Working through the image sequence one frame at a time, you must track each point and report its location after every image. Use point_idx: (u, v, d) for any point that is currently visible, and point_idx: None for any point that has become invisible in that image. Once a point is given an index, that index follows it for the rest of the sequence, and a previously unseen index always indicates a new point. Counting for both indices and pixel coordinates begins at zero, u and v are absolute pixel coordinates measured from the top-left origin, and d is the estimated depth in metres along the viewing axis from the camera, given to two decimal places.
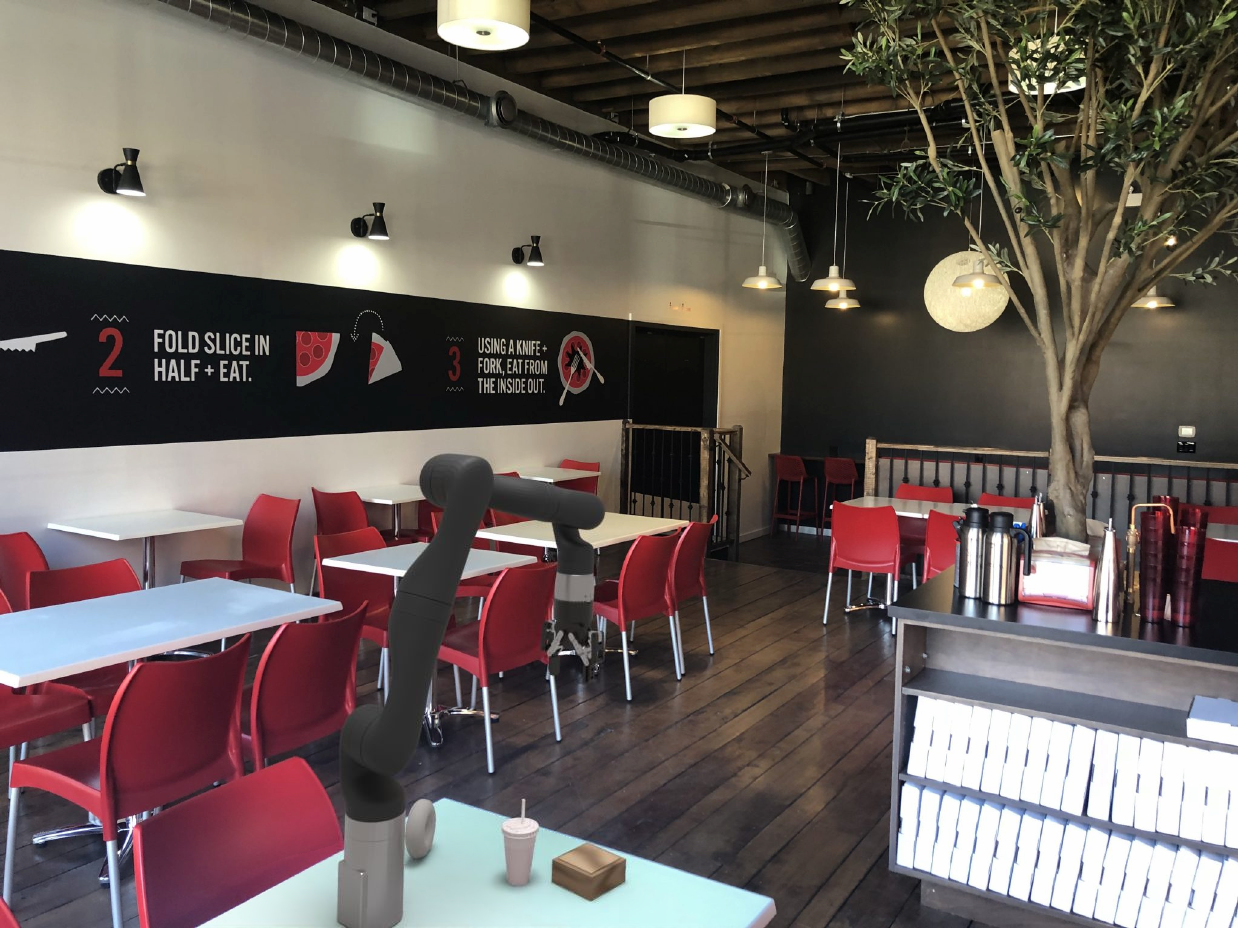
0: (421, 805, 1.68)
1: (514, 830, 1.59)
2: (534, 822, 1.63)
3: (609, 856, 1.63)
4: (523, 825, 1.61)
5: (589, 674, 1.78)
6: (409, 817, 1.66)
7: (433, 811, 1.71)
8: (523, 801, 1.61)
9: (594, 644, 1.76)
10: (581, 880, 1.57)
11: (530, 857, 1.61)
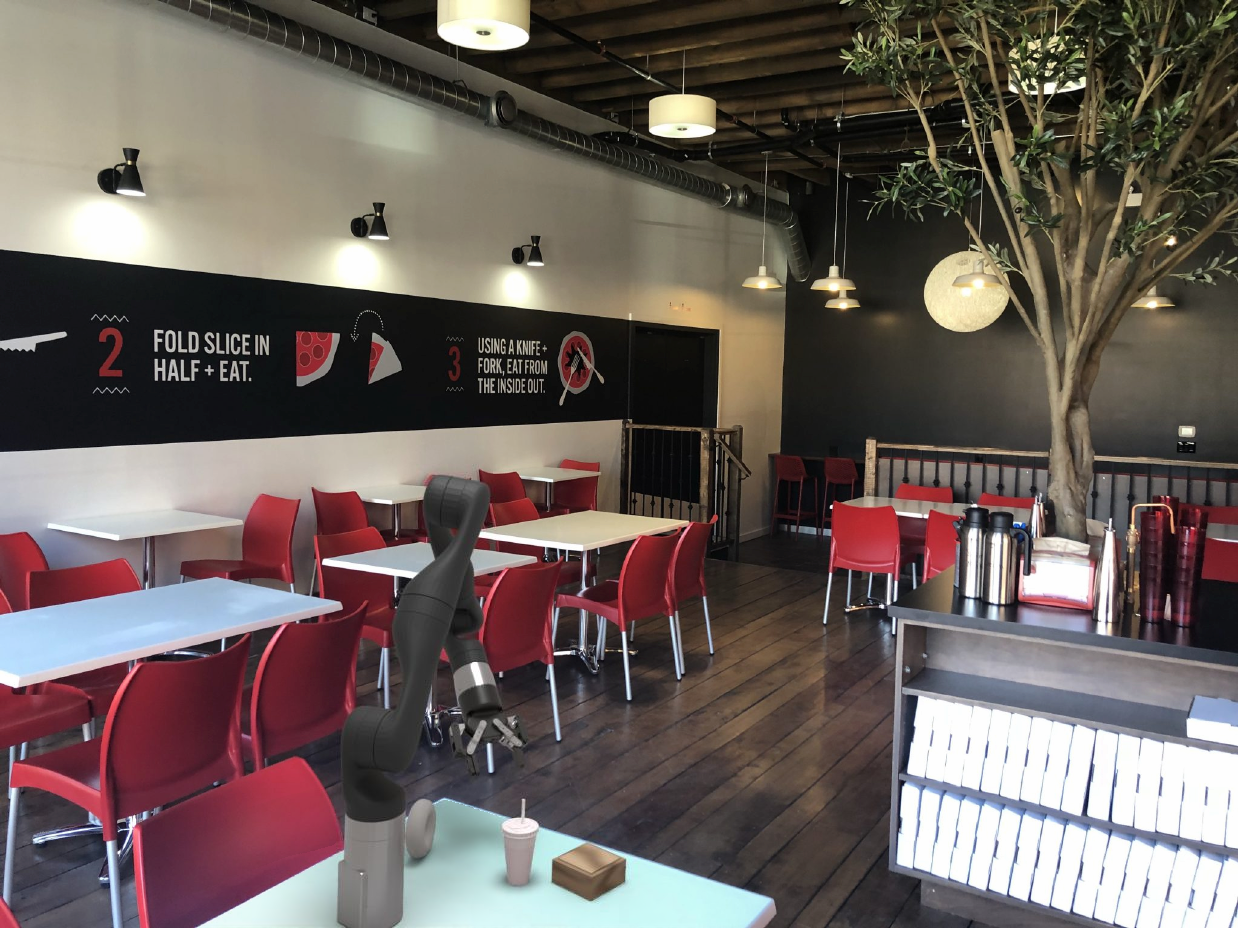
0: (421, 805, 1.68)
1: (514, 830, 1.59)
2: (534, 822, 1.63)
3: (609, 856, 1.63)
4: (523, 825, 1.61)
5: (523, 756, 1.73)
6: (409, 817, 1.66)
7: (433, 811, 1.71)
8: (523, 801, 1.61)
9: (522, 723, 1.76)
10: (581, 880, 1.57)
11: (530, 857, 1.61)
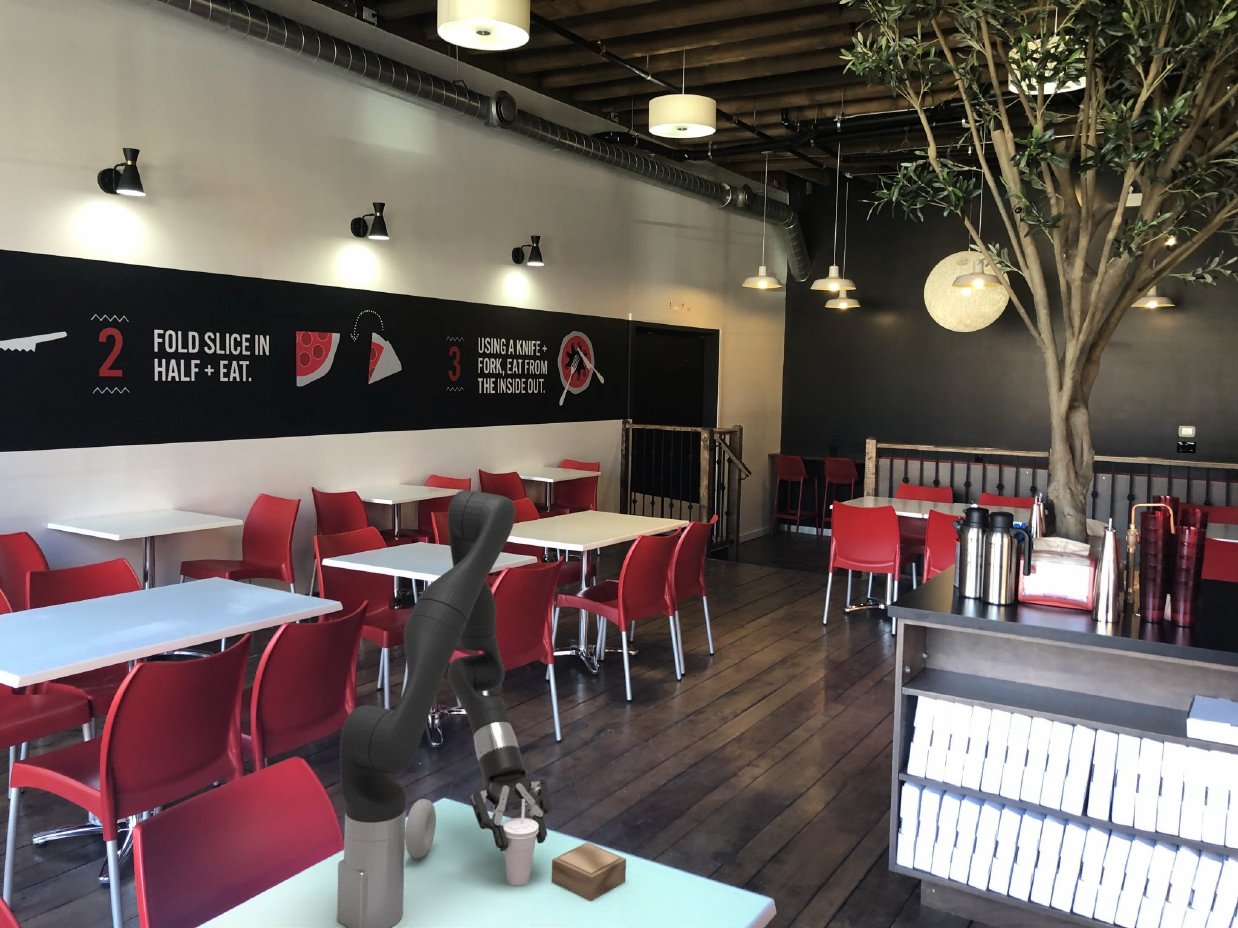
0: (421, 805, 1.68)
1: (514, 830, 1.59)
2: (534, 822, 1.63)
3: (609, 856, 1.63)
4: (523, 825, 1.61)
5: (544, 826, 1.63)
6: (409, 817, 1.66)
7: (433, 811, 1.71)
8: (523, 801, 1.61)
9: (545, 791, 1.67)
10: (581, 880, 1.57)
11: (530, 857, 1.61)
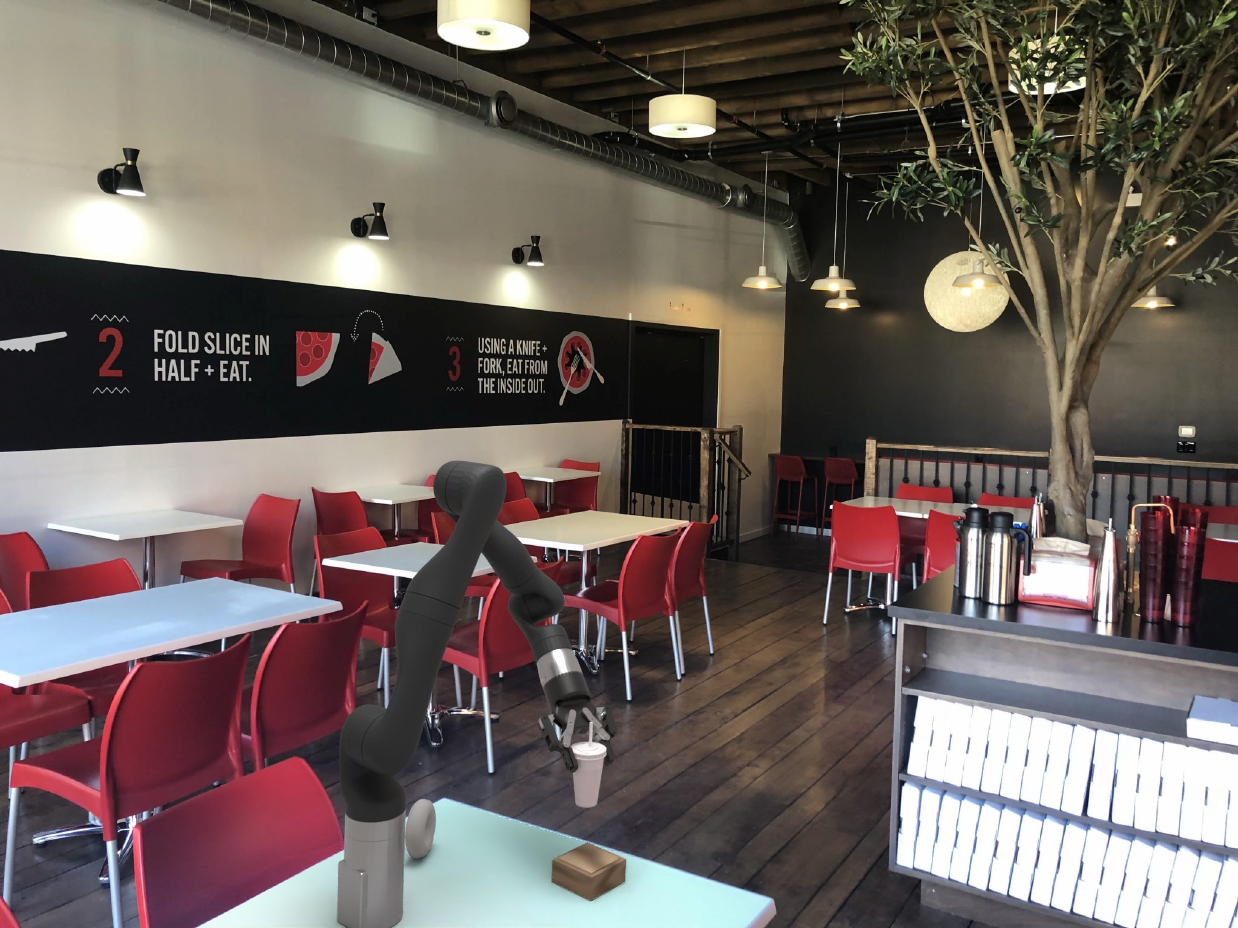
0: (421, 805, 1.68)
1: (583, 752, 1.60)
2: (601, 745, 1.63)
3: (609, 856, 1.63)
4: (591, 748, 1.61)
5: (611, 750, 1.63)
6: (409, 817, 1.66)
7: (433, 811, 1.71)
8: (591, 724, 1.62)
9: (610, 716, 1.67)
10: (581, 880, 1.57)
11: (599, 779, 1.61)
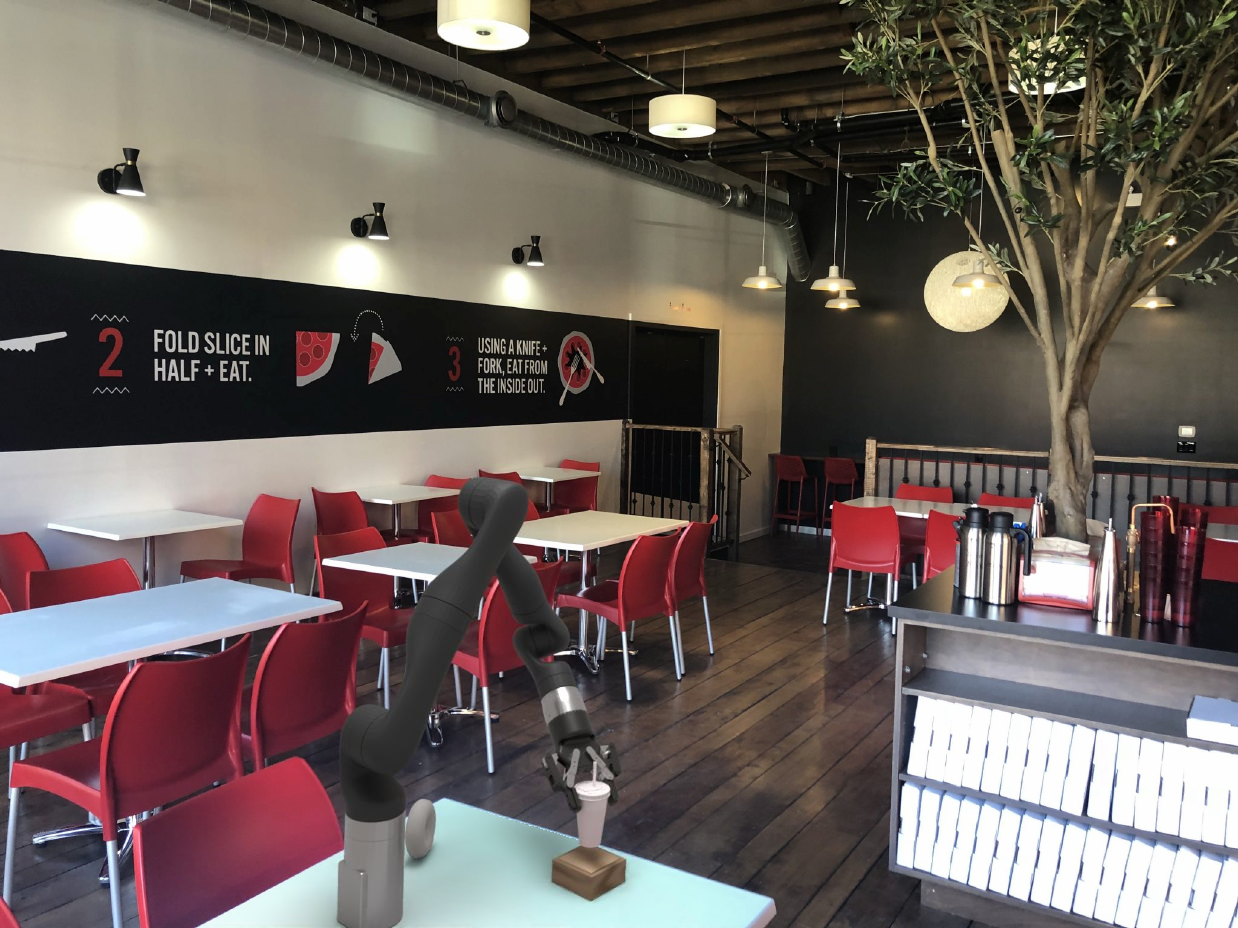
0: (421, 805, 1.68)
1: (587, 793, 1.60)
2: (605, 785, 1.63)
3: (609, 856, 1.63)
4: (595, 787, 1.61)
5: (615, 789, 1.63)
6: (409, 817, 1.66)
7: (433, 811, 1.71)
8: (595, 764, 1.61)
9: (614, 754, 1.67)
10: (581, 880, 1.57)
11: (602, 819, 1.61)
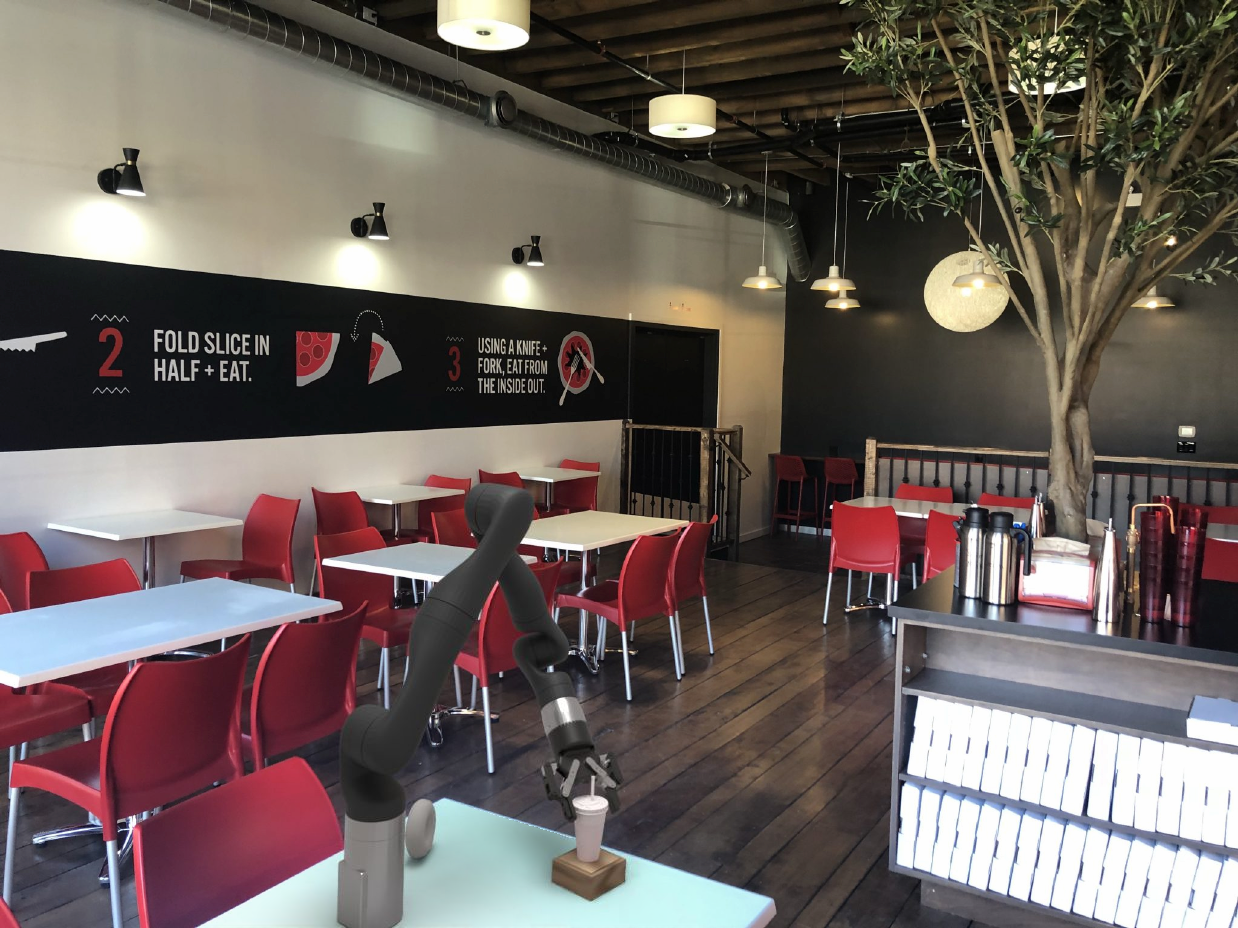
0: (421, 805, 1.68)
1: (585, 807, 1.60)
2: (603, 799, 1.63)
3: (609, 856, 1.63)
4: (593, 802, 1.61)
5: (617, 797, 1.64)
6: (409, 817, 1.66)
7: (433, 811, 1.71)
8: (593, 778, 1.62)
9: (615, 762, 1.68)
10: (581, 880, 1.57)
11: (601, 833, 1.61)
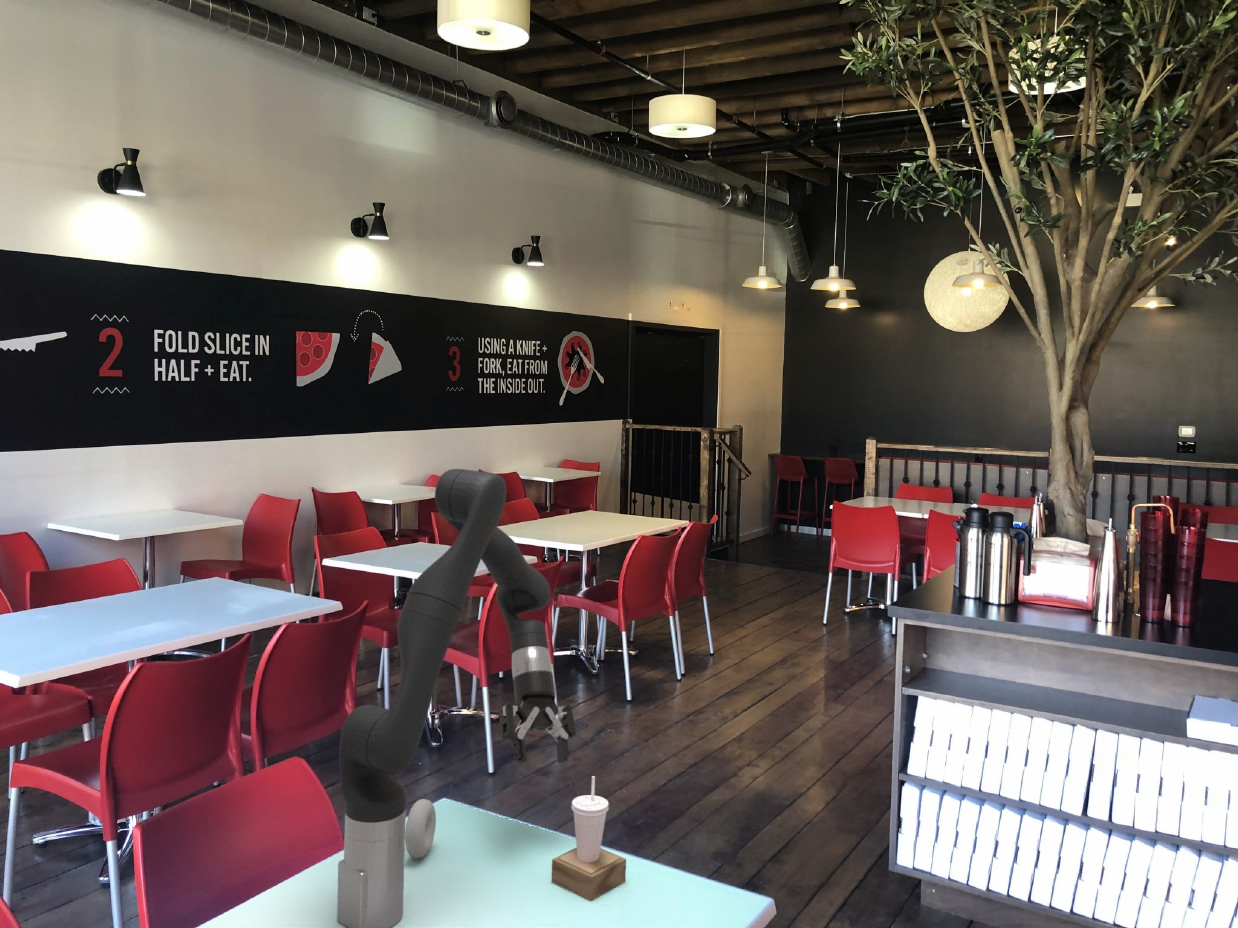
0: (421, 805, 1.68)
1: (585, 807, 1.60)
2: (603, 799, 1.63)
3: (609, 856, 1.63)
4: (593, 802, 1.61)
5: (567, 749, 1.74)
6: (409, 817, 1.66)
7: (433, 811, 1.71)
8: (593, 778, 1.62)
9: (570, 716, 1.77)
10: (581, 880, 1.57)
11: (601, 833, 1.61)
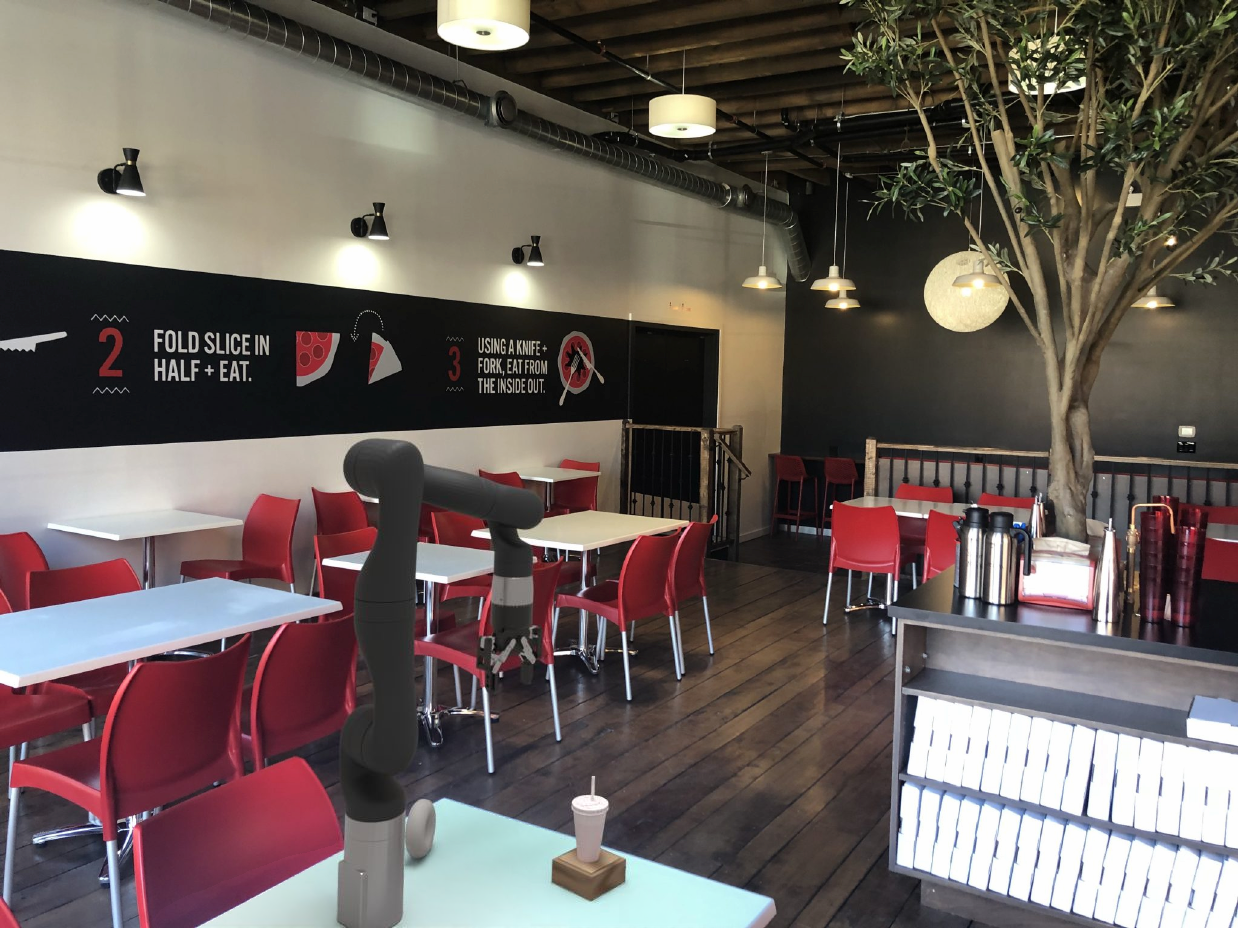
0: (421, 805, 1.68)
1: (585, 807, 1.60)
2: (603, 799, 1.63)
3: (609, 856, 1.63)
4: (593, 802, 1.61)
5: (532, 671, 1.75)
6: (409, 817, 1.66)
7: (433, 811, 1.71)
8: (593, 778, 1.62)
9: (540, 639, 1.75)
10: (581, 880, 1.57)
11: (601, 833, 1.61)
